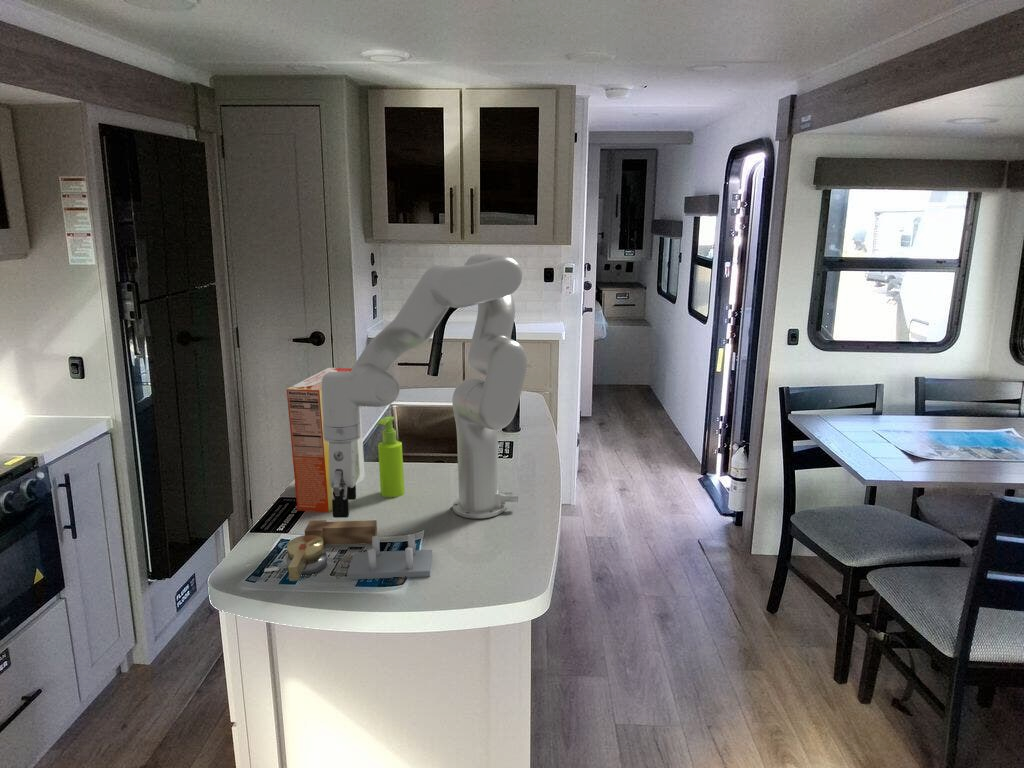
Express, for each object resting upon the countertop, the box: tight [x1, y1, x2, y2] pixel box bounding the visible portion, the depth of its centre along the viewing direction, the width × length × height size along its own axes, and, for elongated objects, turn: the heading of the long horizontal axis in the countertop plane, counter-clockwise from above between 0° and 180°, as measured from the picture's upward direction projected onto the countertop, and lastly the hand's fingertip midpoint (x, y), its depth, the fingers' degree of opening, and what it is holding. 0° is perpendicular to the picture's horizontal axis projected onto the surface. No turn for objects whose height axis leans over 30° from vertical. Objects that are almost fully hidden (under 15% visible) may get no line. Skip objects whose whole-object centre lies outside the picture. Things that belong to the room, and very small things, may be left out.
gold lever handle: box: [286, 534, 325, 582], centre depth 141 cm, size 14×7×3 cm, turn 3°
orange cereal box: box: [286, 367, 366, 513], centre depth 180 cm, size 23×8×30 cm, turn 170°
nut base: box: [263, 550, 329, 577], centre depth 145 cm, size 12×8×2 cm, turn 93°
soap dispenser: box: [376, 415, 405, 498], centre depth 180 cm, size 6×7×20 cm
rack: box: [346, 534, 433, 581], centre depth 144 cm, size 16×9×5 cm, turn 93°
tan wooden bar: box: [304, 519, 378, 546], centre depth 156 cm, size 15×5×4 cm, turn 93°
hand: (344, 507), depth 154 cm, fingers open, 9 cm apart
